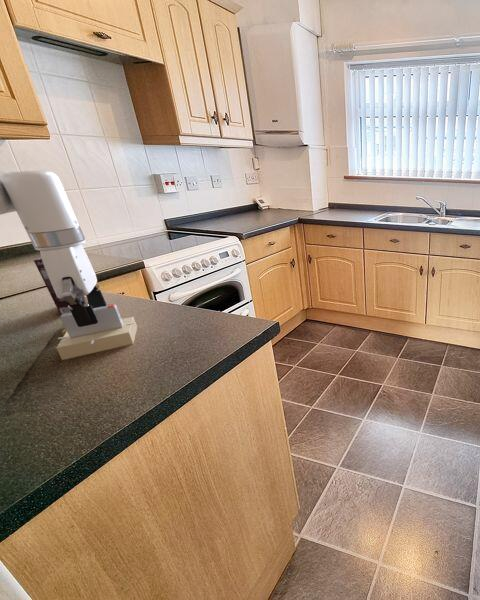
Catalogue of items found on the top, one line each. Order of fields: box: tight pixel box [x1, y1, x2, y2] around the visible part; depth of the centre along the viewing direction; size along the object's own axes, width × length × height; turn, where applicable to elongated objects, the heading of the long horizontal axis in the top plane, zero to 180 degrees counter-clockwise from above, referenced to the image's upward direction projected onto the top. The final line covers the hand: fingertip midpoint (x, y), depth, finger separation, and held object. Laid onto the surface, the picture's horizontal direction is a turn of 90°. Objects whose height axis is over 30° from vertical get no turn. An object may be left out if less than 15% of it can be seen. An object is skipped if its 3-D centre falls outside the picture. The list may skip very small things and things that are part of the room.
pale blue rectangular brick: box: [60, 303, 123, 338], centre depth 73 cm, size 9×2×5 cm, turn 121°
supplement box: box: [33, 255, 82, 315], centre depth 88 cm, size 9×5×16 cm, turn 27°
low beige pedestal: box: [55, 316, 138, 361], centre depth 75 cm, size 13×13×3 cm
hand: (93, 315), depth 73 cm, fingers open, 9 cm apart
